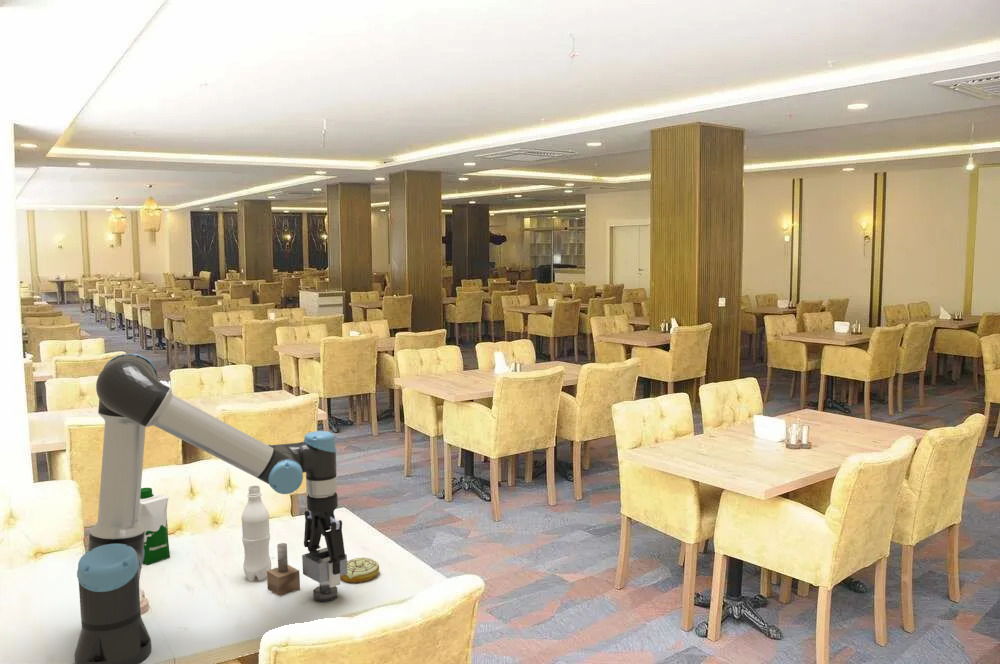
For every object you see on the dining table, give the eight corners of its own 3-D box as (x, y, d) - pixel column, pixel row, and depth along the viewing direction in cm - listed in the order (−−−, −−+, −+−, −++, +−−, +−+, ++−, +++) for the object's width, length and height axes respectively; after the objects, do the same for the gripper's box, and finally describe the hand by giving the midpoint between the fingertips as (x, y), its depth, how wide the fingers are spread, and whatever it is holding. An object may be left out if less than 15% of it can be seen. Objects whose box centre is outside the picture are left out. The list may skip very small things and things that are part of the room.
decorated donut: (332, 575, 219) (331, 562, 219) (366, 565, 226) (366, 552, 226) (350, 587, 211) (349, 574, 211) (385, 577, 218) (385, 563, 218)
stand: (279, 596, 206) (277, 550, 205) (267, 589, 210) (265, 544, 209) (300, 589, 210) (298, 544, 209) (288, 582, 215) (286, 538, 213)
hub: (321, 604, 201) (320, 579, 200) (308, 597, 205) (308, 572, 205) (342, 597, 205) (341, 572, 205) (329, 590, 209) (328, 566, 209)
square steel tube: (347, 573, 205) (346, 554, 204) (319, 583, 199) (319, 563, 198) (330, 565, 210) (329, 546, 210) (302, 574, 205) (302, 555, 204)
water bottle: (263, 583, 214) (259, 491, 211) (238, 581, 215) (234, 490, 213) (276, 572, 221) (272, 483, 218) (252, 571, 222) (248, 482, 220)
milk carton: (158, 550, 238) (154, 484, 236) (175, 557, 233) (171, 489, 231) (129, 559, 231) (125, 491, 229) (146, 567, 226) (142, 497, 224)
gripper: (358, 498, 198) (361, 588, 200) (312, 481, 212) (316, 565, 215) (332, 506, 192) (335, 597, 195) (287, 488, 207) (290, 573, 210)
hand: (325, 580), depth 205 cm, fingers closed on square steel tube, 8 cm apart
